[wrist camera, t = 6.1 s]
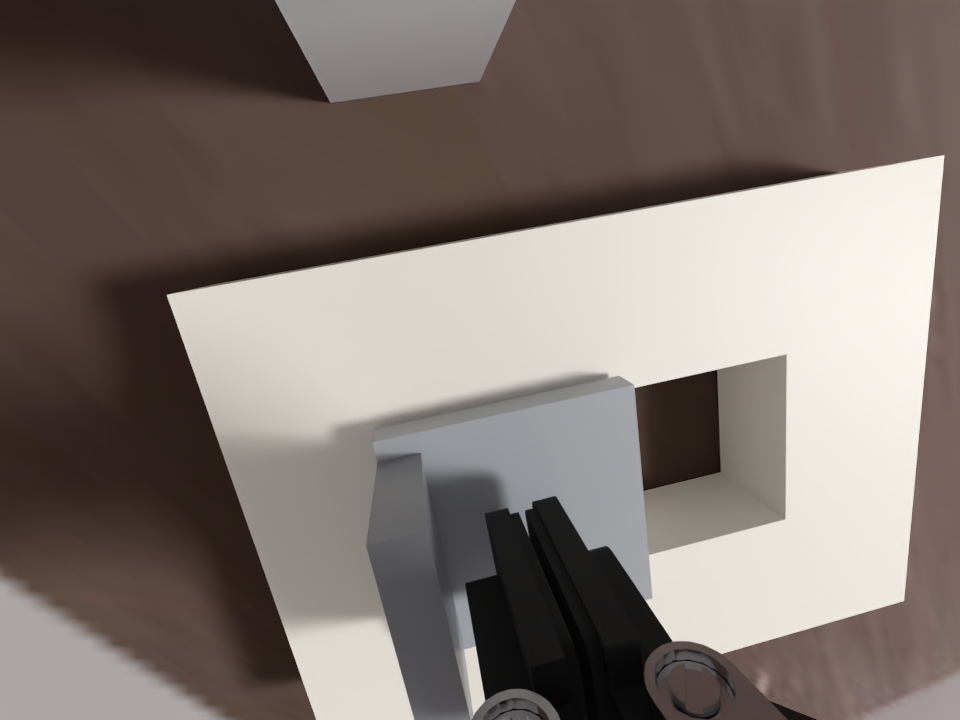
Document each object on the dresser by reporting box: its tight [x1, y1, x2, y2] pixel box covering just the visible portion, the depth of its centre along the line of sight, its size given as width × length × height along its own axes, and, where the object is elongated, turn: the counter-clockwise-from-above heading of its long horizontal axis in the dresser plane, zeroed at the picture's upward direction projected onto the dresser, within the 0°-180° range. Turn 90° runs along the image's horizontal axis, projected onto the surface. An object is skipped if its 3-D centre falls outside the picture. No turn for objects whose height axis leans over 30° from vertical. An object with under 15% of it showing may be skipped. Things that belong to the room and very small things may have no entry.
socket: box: [167, 155, 944, 720], centre depth 14 cm, size 19×14×3 cm
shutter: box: [366, 376, 652, 720], centre depth 10 cm, size 6×6×4 cm
